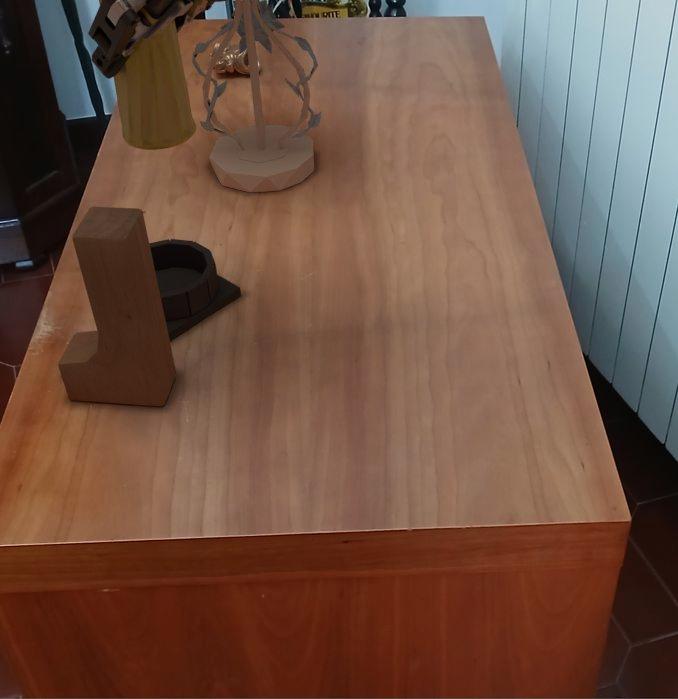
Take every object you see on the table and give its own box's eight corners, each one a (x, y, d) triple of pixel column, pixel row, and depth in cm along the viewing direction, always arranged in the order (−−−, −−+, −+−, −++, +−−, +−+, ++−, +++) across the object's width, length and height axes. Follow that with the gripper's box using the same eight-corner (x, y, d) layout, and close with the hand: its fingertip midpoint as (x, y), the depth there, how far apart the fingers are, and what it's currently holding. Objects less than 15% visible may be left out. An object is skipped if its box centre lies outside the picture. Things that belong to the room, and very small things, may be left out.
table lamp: (354, 121, 120) (343, -237, 94) (350, 212, 104) (336, -191, 78) (189, 124, 121) (133, -229, 95) (160, 215, 105) (83, -182, 79)
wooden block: (67, 401, 82) (13, 233, 71) (84, 367, 86) (35, 202, 74) (164, 408, 81) (126, 238, 70) (178, 374, 85) (143, 206, 73)
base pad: (164, 344, 88) (157, 312, 85) (101, 303, 93) (93, 271, 91) (241, 295, 93) (237, 262, 91) (178, 258, 99) (172, 227, 96)
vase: (114, 128, 78) (75, -46, 69) (181, 110, 80) (152, -62, 71) (136, 158, 74) (98, -23, 65) (207, 138, 76) (180, -40, 67)
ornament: (197, 73, 133) (193, 49, 131) (228, 56, 137) (225, 32, 135) (238, 86, 130) (235, 61, 127) (269, 68, 134) (267, 44, 131)
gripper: (256, -161, 65) (157, -14, 78) (114, -107, 56) (29, 48, 69) (323, -71, 66) (214, 58, 79) (195, -5, 57) (96, 129, 70)
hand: (128, 53), depth 74 cm, fingers closed on vase, 5 cm apart
